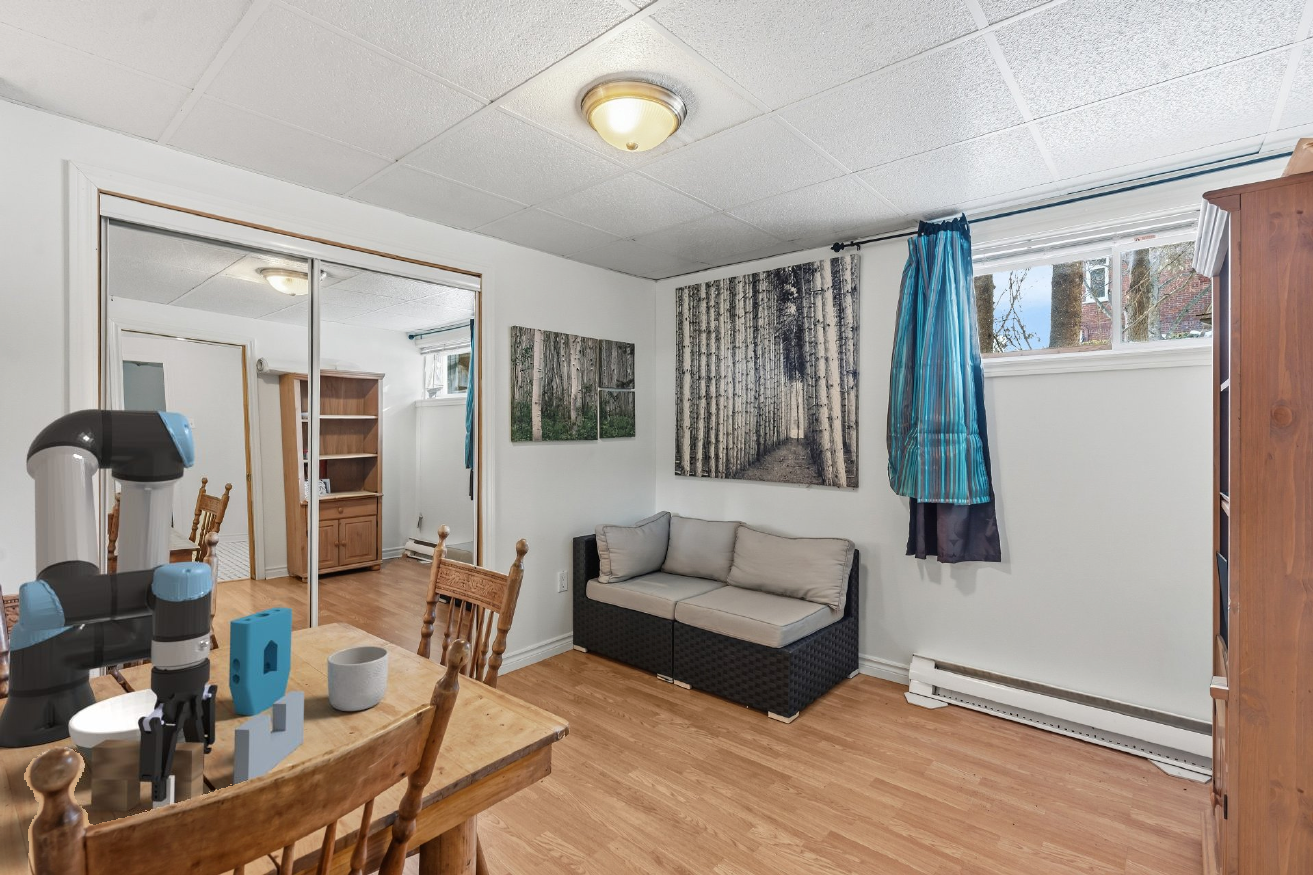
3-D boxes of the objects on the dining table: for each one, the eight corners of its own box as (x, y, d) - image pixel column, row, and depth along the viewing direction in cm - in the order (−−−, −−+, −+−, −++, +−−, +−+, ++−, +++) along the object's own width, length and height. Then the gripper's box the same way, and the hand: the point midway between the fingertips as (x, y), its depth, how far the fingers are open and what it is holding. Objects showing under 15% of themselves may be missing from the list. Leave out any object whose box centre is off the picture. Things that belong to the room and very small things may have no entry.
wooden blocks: (90, 810, 99) (92, 747, 99) (105, 800, 102) (106, 739, 102) (190, 813, 99) (192, 750, 99) (202, 804, 102) (203, 742, 102)
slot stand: (248, 788, 106) (249, 729, 106) (233, 788, 106) (234, 729, 106) (303, 742, 122) (304, 691, 122) (290, 742, 122) (291, 690, 122)
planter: (317, 703, 140) (318, 654, 140) (373, 687, 149) (374, 641, 149) (339, 721, 132) (340, 669, 132) (397, 703, 141) (398, 655, 141)
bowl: (41, 774, 109) (42, 719, 109) (163, 726, 127) (164, 679, 127) (111, 800, 102) (112, 742, 102) (230, 746, 120) (231, 696, 120)
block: (244, 719, 131) (247, 624, 131) (226, 716, 133) (228, 621, 132) (292, 697, 143) (293, 609, 143) (274, 694, 144) (276, 606, 144)
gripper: (157, 685, 91) (154, 845, 91) (243, 643, 109) (240, 776, 110) (106, 683, 91) (103, 843, 91) (200, 641, 110) (197, 775, 110)
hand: (178, 806), depth 100 cm, fingers open, 5 cm apart
